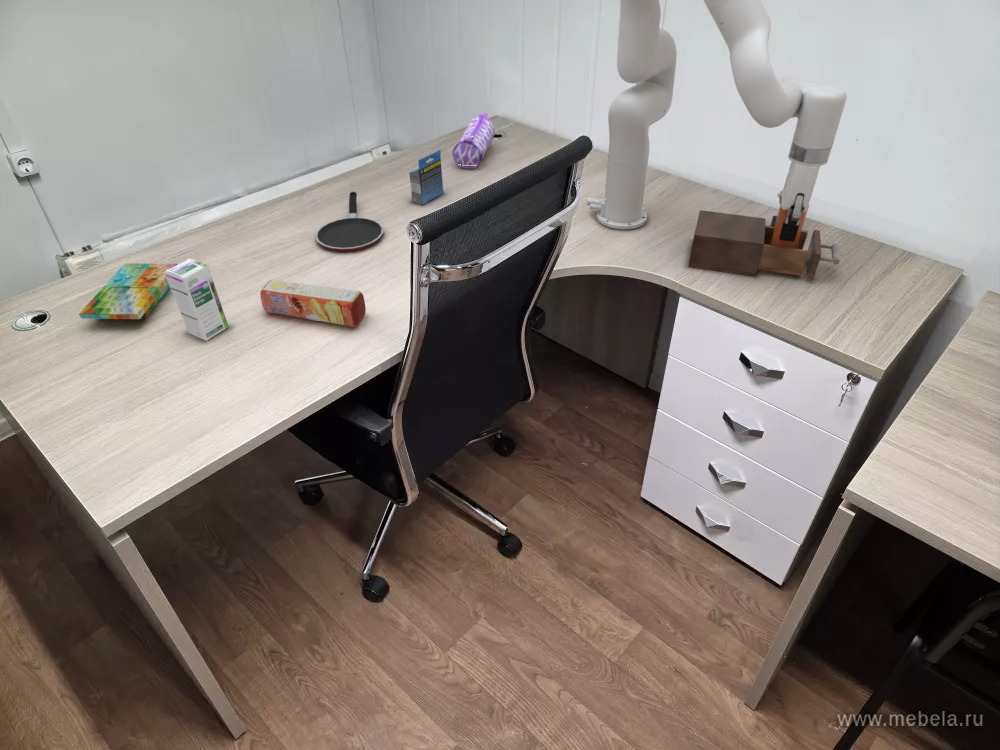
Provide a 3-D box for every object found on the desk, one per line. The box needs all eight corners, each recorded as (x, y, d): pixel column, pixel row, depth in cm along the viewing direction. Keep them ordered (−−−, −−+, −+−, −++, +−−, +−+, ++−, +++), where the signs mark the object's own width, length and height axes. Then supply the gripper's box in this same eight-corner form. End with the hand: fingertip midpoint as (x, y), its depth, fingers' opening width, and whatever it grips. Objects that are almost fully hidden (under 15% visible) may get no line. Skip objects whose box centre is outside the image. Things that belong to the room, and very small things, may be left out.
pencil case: (482, 172, 196) (481, 139, 190) (451, 170, 197) (449, 137, 191) (495, 144, 212) (495, 113, 206) (466, 142, 214) (465, 112, 208)
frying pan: (322, 204, 180) (319, 192, 178) (383, 200, 182) (382, 188, 180) (313, 256, 159) (311, 243, 156) (384, 250, 160) (382, 238, 158)
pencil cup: (766, 262, 150) (780, 207, 142) (766, 250, 154) (781, 196, 146) (792, 266, 148) (809, 211, 140) (792, 254, 153) (808, 200, 144)
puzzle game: (176, 260, 148) (135, 310, 133) (183, 278, 151) (143, 330, 136) (124, 259, 149) (77, 310, 133) (132, 278, 152) (86, 329, 136)
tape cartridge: (433, 190, 186) (429, 146, 178) (444, 194, 184) (441, 149, 176) (411, 202, 181) (407, 157, 173) (422, 205, 179) (418, 160, 171)
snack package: (262, 316, 139) (254, 288, 135) (279, 299, 144) (271, 271, 140) (355, 332, 134) (350, 304, 130) (369, 314, 139) (365, 286, 135)
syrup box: (206, 342, 133) (183, 278, 123) (186, 333, 135) (162, 269, 126) (229, 327, 136) (208, 264, 127) (209, 319, 139) (188, 256, 130)
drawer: (832, 258, 153) (840, 232, 149) (834, 283, 145) (843, 257, 141) (750, 246, 158) (756, 222, 154) (748, 270, 149) (754, 245, 145)
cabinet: (757, 250, 158) (765, 218, 153) (755, 276, 149) (764, 244, 144) (693, 241, 162) (699, 210, 157) (688, 266, 153) (694, 234, 148)
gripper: (790, 135, 143) (769, 214, 155) (789, 166, 131) (767, 249, 142) (828, 139, 141) (804, 218, 153) (831, 170, 129) (805, 254, 140)
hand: (786, 232), depth 147 cm, fingers closed on pencil cup, 5 cm apart
